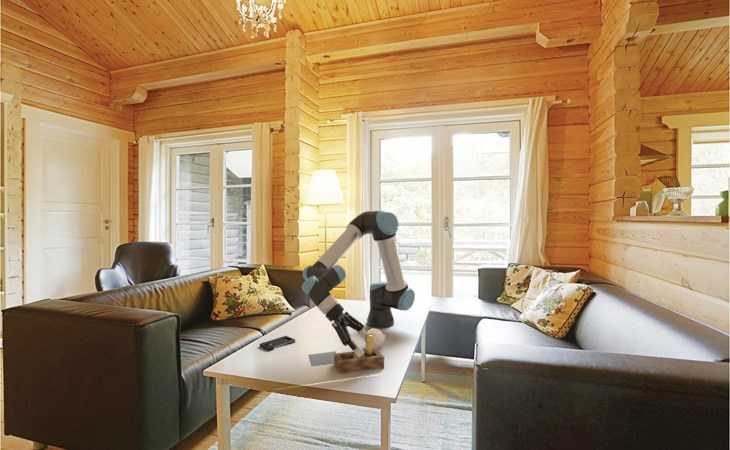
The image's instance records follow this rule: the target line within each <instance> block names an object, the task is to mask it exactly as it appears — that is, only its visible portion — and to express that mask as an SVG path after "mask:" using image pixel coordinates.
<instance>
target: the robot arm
mask: <svg viewBox="0 0 730 450" xmlns="http://www.w3.org/2000/svg"><path fill="white" fill-rule="evenodd" d="M398 227H399V220H398V218H397V216H396V214H394V212H392V211H390V210H384V209H383V210H374V211H373V210H367V211H364V212H362V213H359V214H358V215H357V216H356V217H354V218H353V219H352V220H351V221H350V222H349V223H348V224H347V225H346V229H345V230H344V232H342V233H341V235H340V236H338V238H337V239H336V240H335V241H334V242H333V243H332V244H331V245H330V246H329V248H327V250H325V252H323V254H322V255H321V256H320V257H318V259H317V260H316V262H314V263H313V264H312V265H308V266H305V267H304V268H303V270H302V278H303V279H304V282H303V283H302V285H301V289H302V291H303V292H304V294H305V295H306V296H307V297H308V298H309V299H310V300H311V301H312V302H313V304H314V305H315V306H316V307H317V308H318V309H319V312H320V311H321V313H322V314H323V315H325V318H327V320H328V321H329V322H330V323H331V322H332V323H331V326H332V328H333V329H334V331H335V332H336V334H337V336H338V338H339V339H340V342H341V344H342V345H343V346H345V347H346V346H348V347H349V348H350V349H351V350H352V352H353V351H354V352H355V354H356V355H357V356H358V357H361V356H362V355H363V354H364V351H363V349H362V348H361V347H360V346H359V344H357V343H356V341H355V340H354V339H352V337H351V335H350V332H349V330H348V328H351V329H353V330H355V331H357V332H358V335H359V336H360V337H361V338H362V339H363V341H364V340H365V335H366V334H367V331H366V330H365V329H364V328H365V325H364V324H363V323H362V322H360V321H359V320H358V319H356V318H355V317H353V316H352V315H351V314H350V313H349V312H348V311H345V312H344V310H345V309H344V307H343V306H342V305H341V303H340V302H339V303H338V300H337V299H336V298H335V297H334V296H333V295H332V294H331V291H333V289H335V288H336V287H337V286H339V285H340V284H342V282H343V281H344V280H346V278H347V273H346V270H345V269H344V268H343V267H342V266H341V265H340V264H337V263H338V262H339V260H340V259H341V258H343V257H344V255H345V254H346V252H348V250H349V249H350V248H351V247H352V246H353V245H354V244H355V242H356V241H357V240H361V239H362V238H363V237H364V236H365V235H372V239H373V241H374V242H375V243H377V247H378V250H379V255H380V258H381V263H382V267H383V271H384V275H385V280H386V281H377V282H372V283H371V284H370V285H369V312H368V315H367V318H366V325H368V326H370V327H372V328H373V327H374V328H380V329H381V328H388V327H393V326H394V325H395V318H394V315H393V312H392V309H395V310H399V311H408V310H410V309H411V308H412V306H413V304H414V302H415V298H416V294H415V291H414V289H412V288H409V285H408V282H407V281H406V280H404V275H403V272H402V267H401V264H400V259H399V254H398V250H397V247H396V242H395V237H396V236H397V234H396V233H397V231H398V230H399V228H398Z"/></svg>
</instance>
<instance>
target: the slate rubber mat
mask: <svg viewBox="0 0 730 450" xmlns="http://www.w3.org/2000/svg"><path fill="white" fill-rule="evenodd" d="M336 353H337V352H336V351H327V352H320V353H312V354H311V353H310V354H307V356H308V359H309V363H310V365H311V367H317V366H318V367H319V366H323V365H324V366H325V365H332V364H333V365H335V364H334V354H336Z"/></svg>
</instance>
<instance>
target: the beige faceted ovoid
mask: <svg viewBox="0 0 730 450" xmlns="http://www.w3.org/2000/svg"><path fill="white" fill-rule="evenodd" d="M366 332H367V334H372V335H373V349H379V348H380V347H382V345H383V344H384V341H385V340H386V339H387V337H386V334H385V333H382V331H381V330H380V329H378V328H373V327H372V328H370V329H369V330H367V331H366ZM363 341H364V342H365V340H364V339H363Z"/></svg>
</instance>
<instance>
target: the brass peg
mask: <svg viewBox="0 0 730 450" xmlns="http://www.w3.org/2000/svg"><path fill="white" fill-rule="evenodd" d="M364 346H365V349H364V350H365V357H370V356H373V335H372V334H366V335H365V341H364Z"/></svg>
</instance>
